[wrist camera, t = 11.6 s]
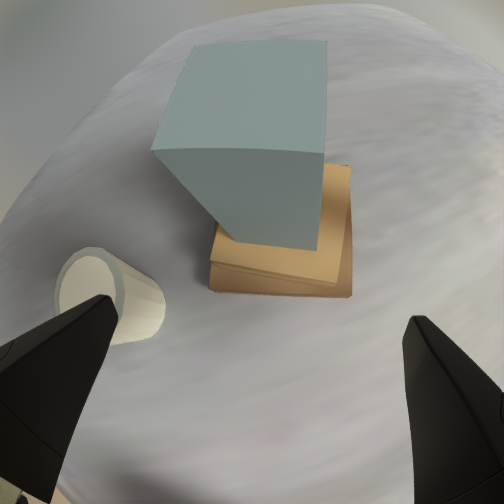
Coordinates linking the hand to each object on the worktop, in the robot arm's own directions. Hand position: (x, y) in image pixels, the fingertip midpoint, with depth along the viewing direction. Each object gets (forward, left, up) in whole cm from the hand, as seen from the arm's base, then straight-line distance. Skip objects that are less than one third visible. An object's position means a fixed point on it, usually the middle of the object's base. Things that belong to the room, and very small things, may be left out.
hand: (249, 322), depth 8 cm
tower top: (+7, +2, -12) cm, 14 cm away
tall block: (+7, +2, -9) cm, 12 cm away
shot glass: (-3, +12, -14) cm, 18 cm away
